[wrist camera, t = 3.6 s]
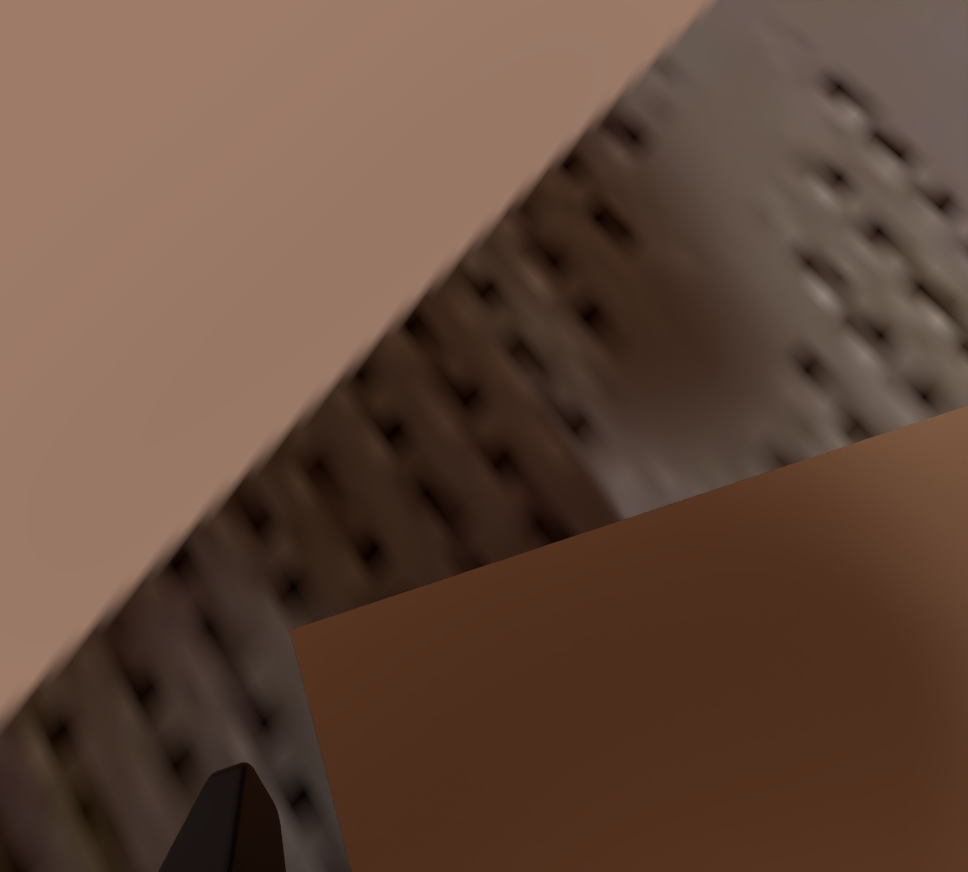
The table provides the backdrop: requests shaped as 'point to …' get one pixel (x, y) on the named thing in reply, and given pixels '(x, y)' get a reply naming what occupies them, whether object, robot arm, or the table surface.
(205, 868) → the robot arm
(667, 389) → the table surface
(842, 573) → the walnut block
